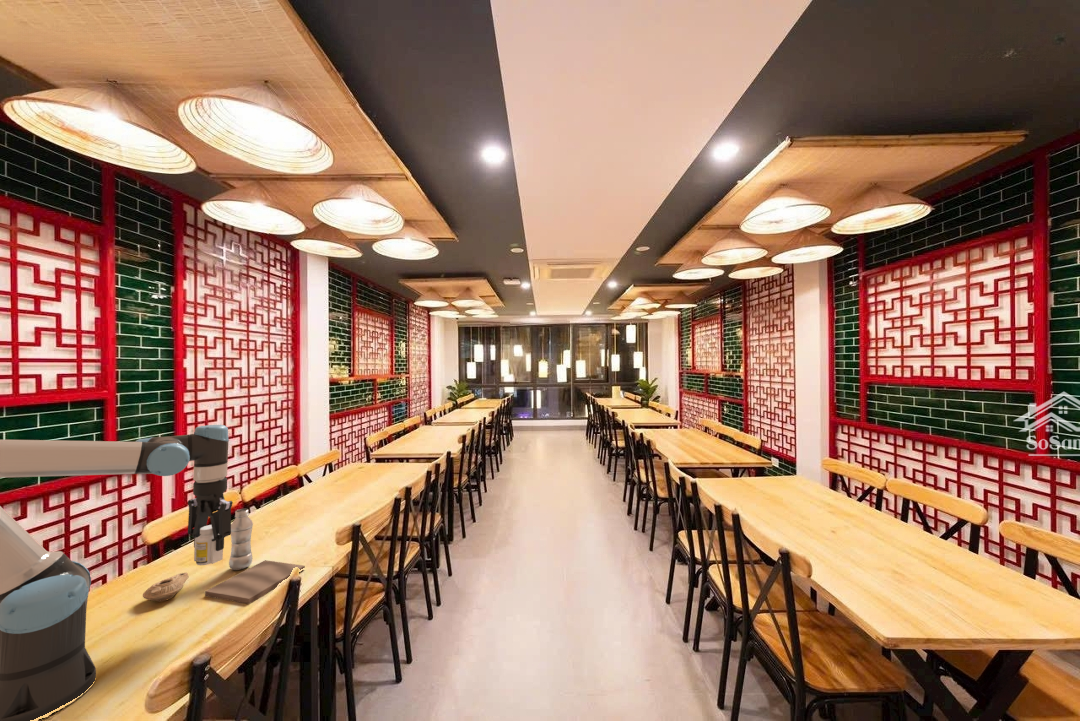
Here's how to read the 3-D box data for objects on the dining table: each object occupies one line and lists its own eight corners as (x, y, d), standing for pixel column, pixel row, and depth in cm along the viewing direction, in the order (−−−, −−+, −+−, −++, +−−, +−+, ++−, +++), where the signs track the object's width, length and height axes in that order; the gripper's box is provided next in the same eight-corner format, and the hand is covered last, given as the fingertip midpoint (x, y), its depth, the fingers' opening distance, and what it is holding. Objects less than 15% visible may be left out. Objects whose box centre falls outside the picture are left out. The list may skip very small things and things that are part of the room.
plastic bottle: (239, 573, 131) (241, 514, 132) (223, 571, 132) (225, 513, 133) (257, 564, 137) (258, 508, 138) (241, 562, 139) (242, 506, 139)
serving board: (249, 603, 114) (249, 598, 114) (204, 596, 118) (205, 591, 118) (304, 570, 134) (304, 565, 134) (265, 564, 137) (265, 560, 137)
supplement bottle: (220, 554, 114) (221, 521, 115) (220, 561, 110) (221, 527, 111) (195, 560, 111) (196, 526, 111) (195, 568, 107) (196, 532, 107)
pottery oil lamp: (200, 581, 126) (202, 565, 124) (164, 615, 114) (165, 599, 112) (173, 572, 125) (175, 556, 123) (135, 606, 114) (135, 589, 112)
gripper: (248, 477, 113) (246, 557, 112) (200, 473, 117) (198, 550, 116) (222, 484, 106) (219, 570, 105) (171, 480, 110) (169, 562, 109)
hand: (208, 560), depth 111 cm, fingers closed on supplement bottle, 5 cm apart
